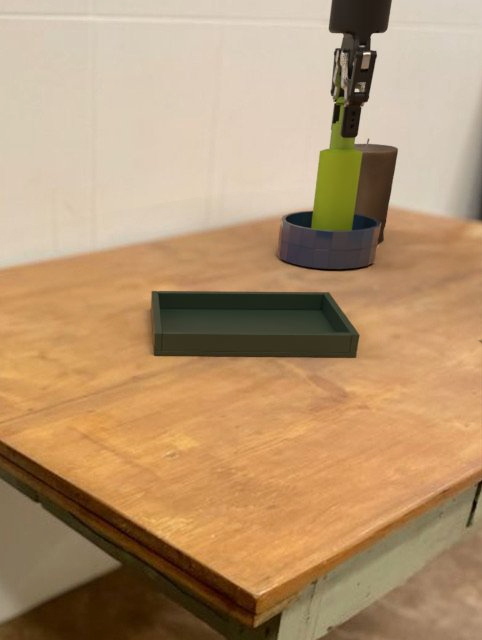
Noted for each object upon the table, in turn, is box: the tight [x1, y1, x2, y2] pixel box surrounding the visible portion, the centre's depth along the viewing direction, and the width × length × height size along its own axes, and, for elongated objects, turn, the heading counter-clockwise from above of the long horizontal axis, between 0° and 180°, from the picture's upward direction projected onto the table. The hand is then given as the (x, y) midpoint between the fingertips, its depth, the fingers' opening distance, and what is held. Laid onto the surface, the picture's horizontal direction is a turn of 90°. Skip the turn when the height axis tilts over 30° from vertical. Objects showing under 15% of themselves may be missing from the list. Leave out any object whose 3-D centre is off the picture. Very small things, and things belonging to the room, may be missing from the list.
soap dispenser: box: [311, 97, 363, 230], centre depth 116 cm, size 6×7×20 cm
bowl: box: [276, 210, 381, 270], centre depth 121 cm, size 14×14×6 cm
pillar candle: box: [354, 138, 399, 244], centre depth 129 cm, size 10×10×15 cm
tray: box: [150, 290, 360, 358], centre depth 93 cm, size 22×16×2 cm
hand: (343, 134), depth 113 cm, fingers closed on soap dispenser, 5 cm apart
